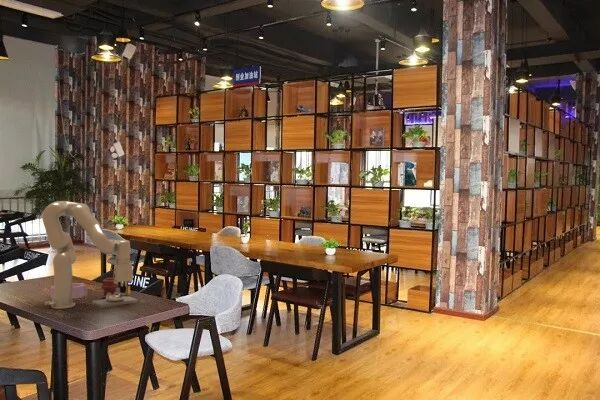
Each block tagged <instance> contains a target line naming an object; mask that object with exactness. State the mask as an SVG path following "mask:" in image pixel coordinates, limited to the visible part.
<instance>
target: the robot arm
mask: <svg viewBox="0 0 600 400" xmlns="http://www.w3.org/2000/svg"><path fill="white" fill-rule="evenodd" d="M62 216H63V217H73V219H74V220H75V221H76V222H77V223H78V224H79V225H80V227H82V229H83V230H84V231H85V232H86V234H87V235H88V236H89V237H88V238H90V240H91V242H92V243H93V244H94V245H95V247H96V248H97V249H98V250H99V251H100V252H101V253H103V254H104V255H109V254H112V253H114V252H116V253H115V259H114V260H113V262H114V263H115V265H114V269H113V279H114V283H115V284H118V285H119V293H124V294H126V286H128V285H129V284H130V283H132V282H133V278H134V271H133V265H132V263H131V241H130V240H128V239H112V238H111V239H110V238H108V237H107V236H106V235H105V233H104V232H103V231H102V228H101V224H100V222H99V221H98V219H96V217H95V216H94V215H93V214H92V213H91V209H90V207H89V205H87V204H85V203H81V202H72V201H66V200H59V201H54V202H51V203H49V204H48V205H47V206H46V207H45V208H44V210H43V212H42V222H43V226H44V230H45V234H46V236H47V239H48V243H49V246H50V247H51V248H52V249H53V250H56V252H57V253H56V254H55V256H54V257H53V259H52V263H53V264H52V265H53V266H52V267H53V273H54V274H53V275H54V277H53V279H54V282H53V283H54V284H53V286H54V299H51V300H49V301H45V302H44V305H45V306H47V305H48V306H51V309H55V310H58V309H59V310H63V309H70V308H73V307H76V303H75V302H74V301H73V299H74V298H73V283H74V282H73V280H74V279H73V268H72V267H73V264H74V263H75V262H76V260H77V253H76V250H75V246H74V244H73V240H72V237H71V235H70V234H68V232H65V231H64V230H63V227H62V224H61V221H60V217H62Z"/></svg>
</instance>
